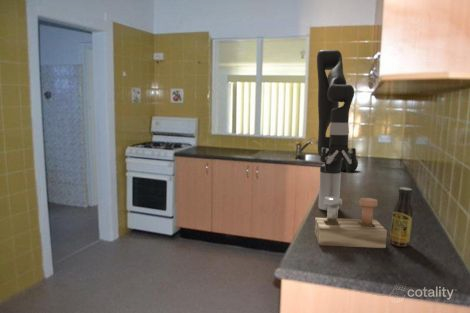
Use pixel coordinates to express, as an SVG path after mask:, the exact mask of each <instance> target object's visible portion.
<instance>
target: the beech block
mask: <svg viewBox="0 0 470 313" xmlns="http://www.w3.org/2000/svg"><path fill="white" fill-rule="evenodd" d="M314 218H315V219H314V235H315V237H316V240H317V243H318V245H319V246H329V247H330V246H333V247H356V248H377V249H385V248H386V247H387V233H388V231H387V229H386V228H385V227H384V226H383V225H382V224H381V223H380V222H379V221H378V220H377V219H372V223H363V222H362V221H361V220H362V218H361V219H360V218H359V219H357V218H337V222H329V221H327V217H314Z"/></svg>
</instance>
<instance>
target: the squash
mask: <svg viewBox="0 0 470 313" xmlns="http://www.w3.org/2000/svg"><path fill="white" fill-rule="evenodd" d="M347 156H348V157H349V159H350V160H351V153H350V152H349V151H348V153H347ZM346 164H347V162H346V161H345V159H344V158H342V163H341V172H344V171H345V172H346ZM358 167H359V161H358V158H357V157H356V162H354V163H352V164H351V171H349V173H351V172H354V171H356V170H357V169H358Z"/></svg>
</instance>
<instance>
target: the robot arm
mask: <svg viewBox="0 0 470 313" xmlns="http://www.w3.org/2000/svg"><path fill="white" fill-rule="evenodd" d="M316 69H317V82H318V83H317V85H318V86H317V90H318V92H317V110H318V112H317V113H318V131H317V132H318V133H317V134H318V135H317V153H318V156H319V157H320V162H322V163H323V164H321V165H320V167H319V183H318V184H319V186H318V209H320V210H322V211H327V207H328V205H326V204H324V198H325V197H338V198H341V197H340V192H341V191H340V190H341V178H342V176H341V174H342V173H341V172H342V171H341V163H342V158H344V159H345V161H346V162H347V164H346V170H345V173H347V174H350V172H349V171H351V164H352V163H354V162H356V158H357V149H356V148H355V147H350V148H349V136H350V135H349V134H350V131H349V130H350V128H349V126H350V125H349V115H350V110H351V109H350V108H351V104H352V102H353V99H354V97H355V88H354V87H353V85H351V84H347V81H346V78H345V77H346V76H345V74H344V65H343V56H342V53H341V51H340V50H338V49H321V50H319V51H318V52H317V56H316ZM326 71H329V72H328V75H327V73H326ZM339 103H343V105H342V106H340V104H339ZM339 106H340V107H339ZM328 128H329V136H326V135H327V131H328ZM348 152H349V153H351V160H350V159H349V157H348V156H347V153H348ZM339 208H340V206H338V211H339Z"/></svg>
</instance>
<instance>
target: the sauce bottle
mask: <svg viewBox="0 0 470 313" xmlns="http://www.w3.org/2000/svg"><path fill="white" fill-rule="evenodd" d="M412 193H413V189H412V188H409V187H405V186H404V187H403V186H402V187H398V199H397V202H396V203H395V204H394V207H393V211H392V217H391V224H390V225H391V226H390V233H389V234H390V235H389V243H390V244H391V245H393V246H396V247H400V248H404V247H408V246H409V244H410V240H411V232H412V231H411V230H412V222H413V213H414V210H413V209H414V208H413V206H412V204H411V200H412V199H411V198H412Z"/></svg>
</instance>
